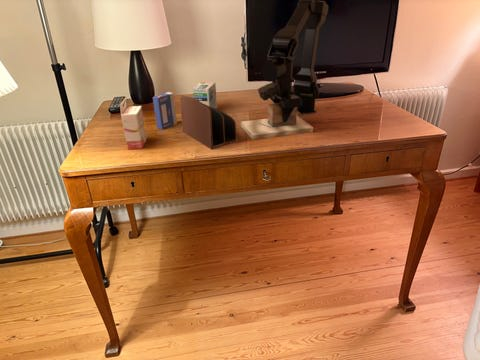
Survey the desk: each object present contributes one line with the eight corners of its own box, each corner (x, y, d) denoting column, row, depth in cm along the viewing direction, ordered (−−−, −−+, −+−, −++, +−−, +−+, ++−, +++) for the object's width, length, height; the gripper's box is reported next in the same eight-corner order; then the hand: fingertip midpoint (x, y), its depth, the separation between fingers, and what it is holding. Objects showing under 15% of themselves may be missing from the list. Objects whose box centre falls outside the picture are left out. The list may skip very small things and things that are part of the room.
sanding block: (291, 120, 125) (292, 101, 122) (296, 124, 122) (297, 104, 118) (267, 123, 123) (268, 103, 120) (272, 127, 119) (272, 107, 116)
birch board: (296, 118, 131) (296, 114, 130) (312, 131, 119) (313, 127, 119) (241, 125, 126) (240, 121, 125) (252, 139, 114) (252, 135, 114)
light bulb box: (210, 116, 137) (208, 88, 131) (194, 115, 138) (191, 88, 133) (217, 107, 146) (215, 82, 141) (202, 107, 147) (200, 81, 142)
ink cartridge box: (143, 149, 110) (135, 104, 103) (127, 150, 110) (118, 105, 103) (147, 138, 118) (139, 96, 110) (132, 139, 117) (124, 97, 110)
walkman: (162, 129, 125) (157, 97, 119) (157, 128, 126) (152, 96, 120) (177, 123, 130) (174, 92, 124) (172, 122, 132) (168, 90, 126)
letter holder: (211, 150, 108) (208, 106, 101) (182, 132, 123) (177, 93, 116) (237, 142, 113) (235, 100, 106) (206, 125, 127) (203, 87, 121)
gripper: (251, 71, 120) (252, 114, 128) (270, 83, 104) (269, 132, 112) (281, 69, 123) (280, 111, 130) (304, 80, 107) (301, 127, 115)
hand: (282, 120), depth 122 cm, fingers closed on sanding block, 4 cm apart
